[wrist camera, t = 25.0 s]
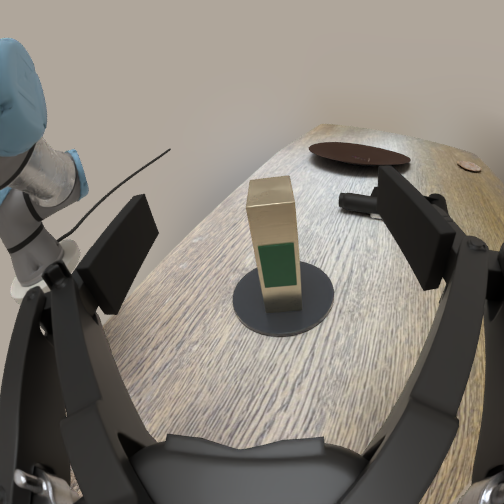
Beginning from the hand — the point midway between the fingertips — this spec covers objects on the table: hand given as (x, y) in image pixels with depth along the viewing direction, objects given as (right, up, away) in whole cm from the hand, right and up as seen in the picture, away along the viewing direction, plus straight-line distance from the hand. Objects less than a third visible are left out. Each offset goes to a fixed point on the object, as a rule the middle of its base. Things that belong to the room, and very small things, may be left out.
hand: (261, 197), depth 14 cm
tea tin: (+3, -8, +17) cm, 19 cm away
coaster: (+3, -8, +18) cm, 20 cm away
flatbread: (+62, +21, +42) cm, 78 cm away
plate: (+29, +22, +52) cm, 63 cm away
